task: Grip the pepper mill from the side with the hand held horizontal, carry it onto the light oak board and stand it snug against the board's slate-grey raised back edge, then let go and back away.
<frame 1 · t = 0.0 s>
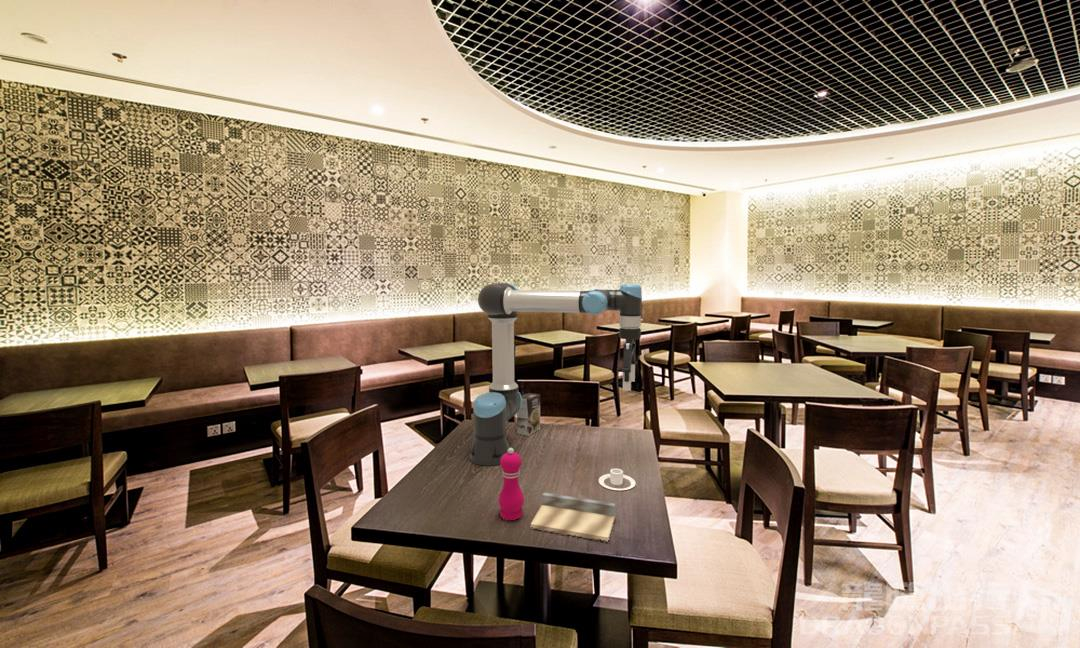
hand: (628, 385, 162), 28 cm above the table, tool pointing down, fingers open, 13 cm apart
candle holder: (616, 484, 148), on the table
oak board: (573, 523, 124), on the table
pepper mill: (511, 515, 128), on the table
coffee box: (529, 432, 195), on the table
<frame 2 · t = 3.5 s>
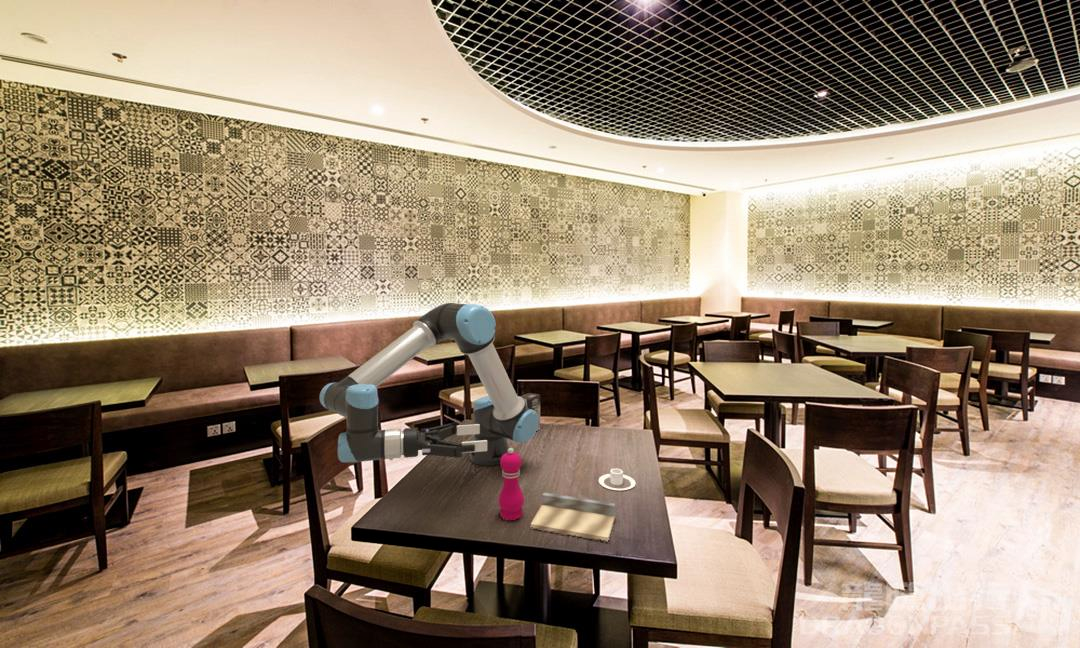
hand: (483, 436, 124), 24 cm above the table, tool horizontal, fingers open, 13 cm apart
nothing on the table moved.
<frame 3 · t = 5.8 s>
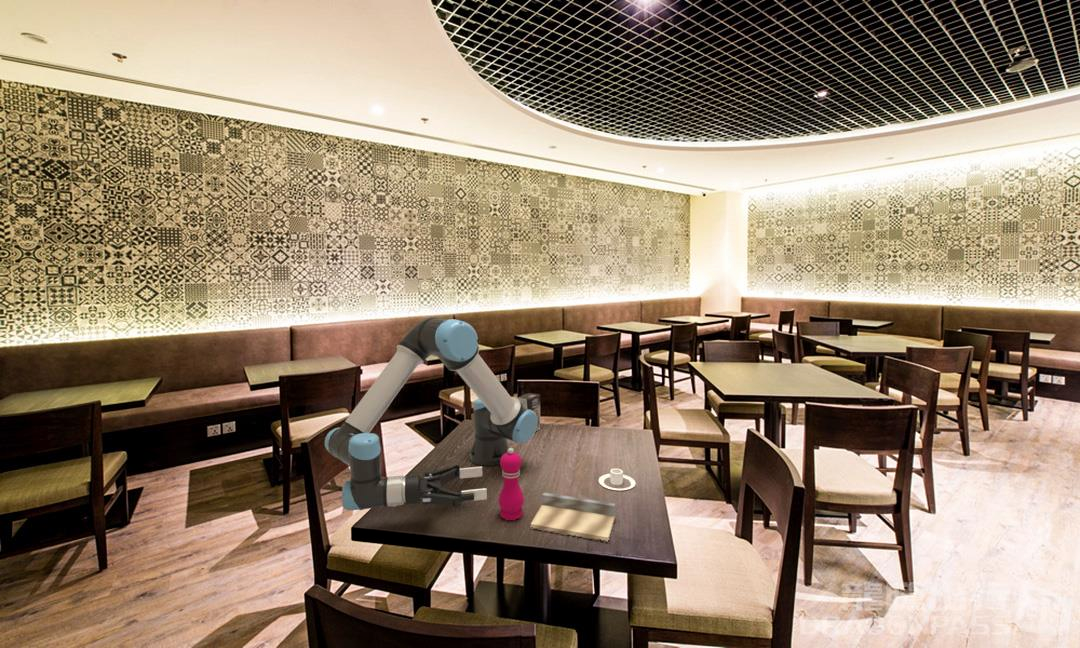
hand: (484, 481, 125), 11 cm above the table, tool horizontal, fingers open, 13 cm apart
nothing on the table moved.
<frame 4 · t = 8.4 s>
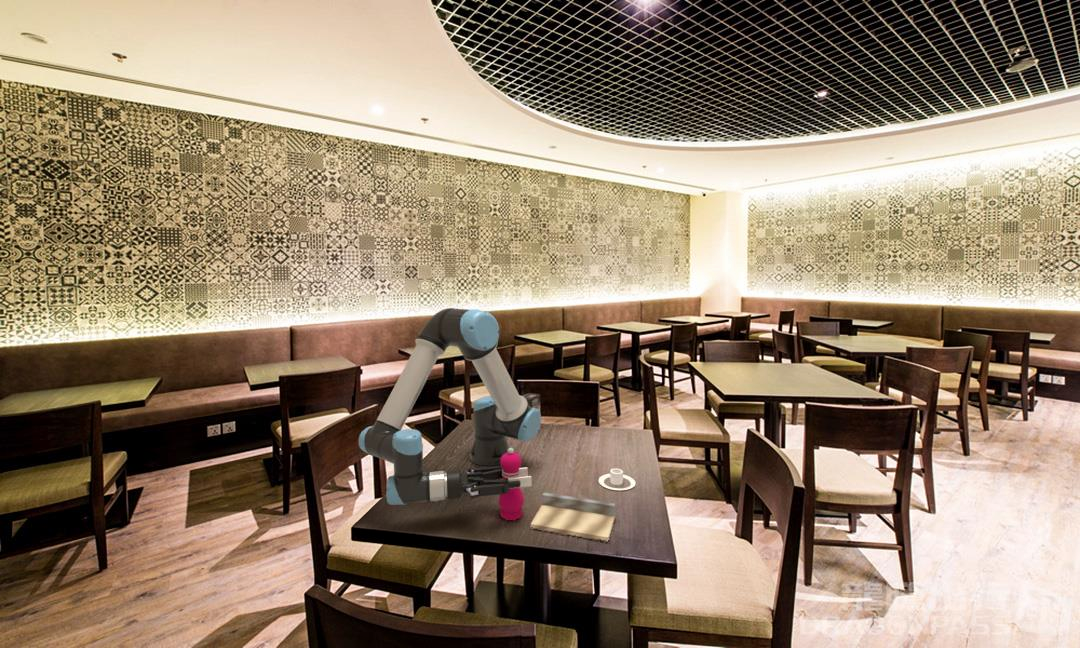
hand: (529, 476, 128), 11 cm above the table, tool horizontal, fingers closed on pepper mill, 5 cm apart
pepper mill: (511, 515, 128), on the table, touching gripper
everything else where it was.
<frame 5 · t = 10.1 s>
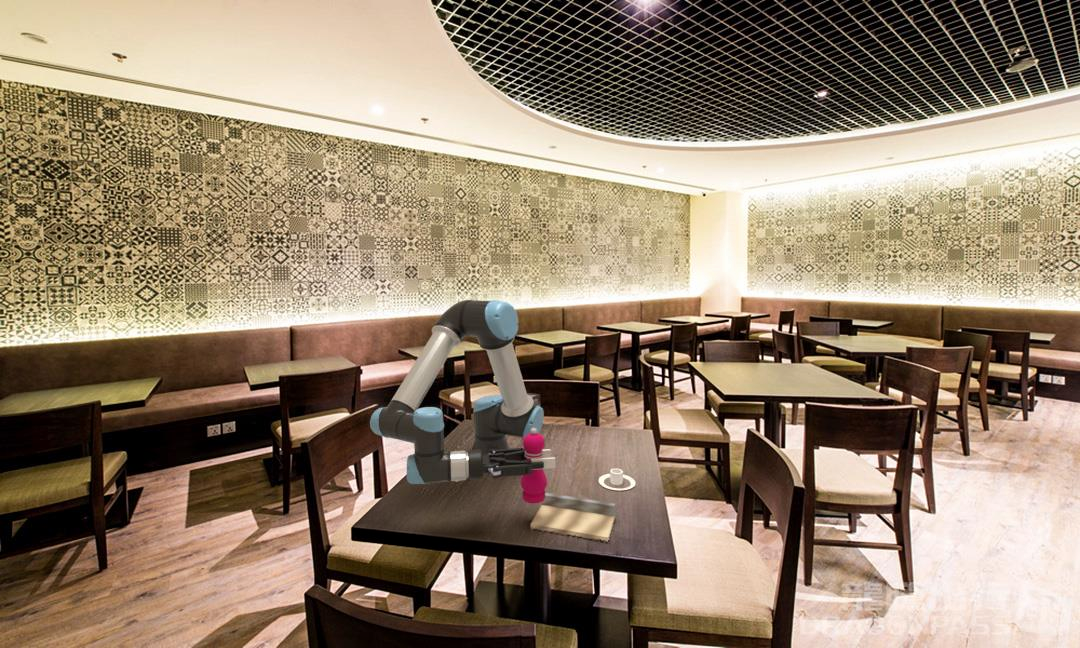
hand: (552, 458, 123), 18 cm above the table, tool horizontal, fingers closed on pepper mill, 5 cm apart
pepper mill: (533, 498, 124), point 7 cm above the table, touching gripper
everything else where it was.
when the fingers open (13 cm above the table, at t = 12.0 s): pepper mill stays where it is, resting on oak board.
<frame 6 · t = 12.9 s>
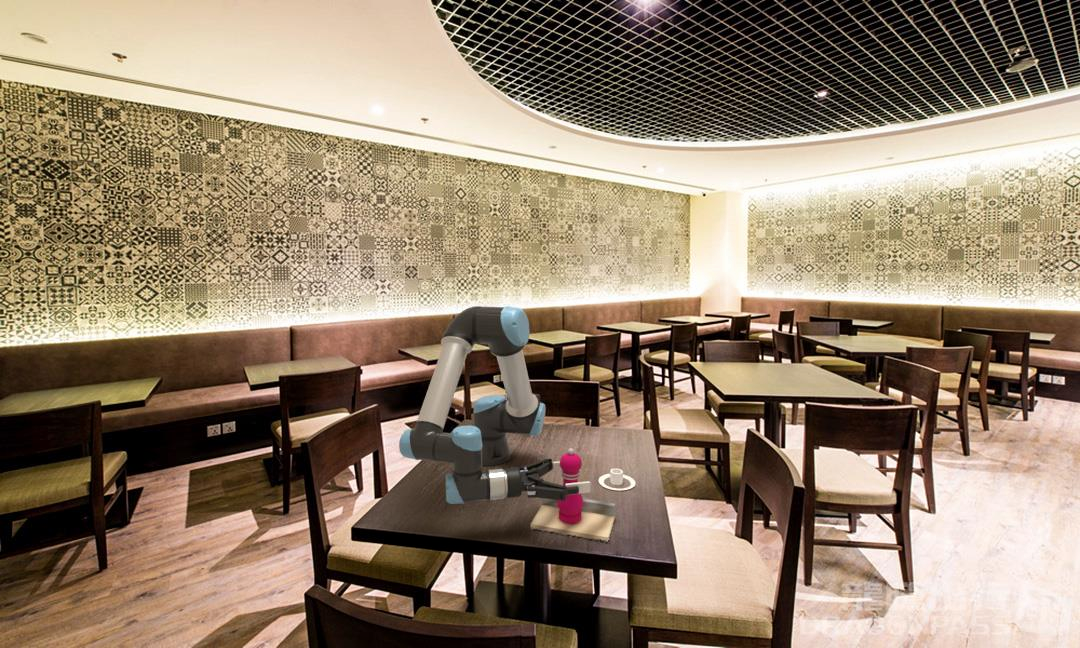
hand: (582, 475, 123), 13 cm above the table, tool horizontal, fingers open, 13 cm apart
pepper mill: (570, 518, 124), point 1 cm above the table, touching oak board
everything else where it was.
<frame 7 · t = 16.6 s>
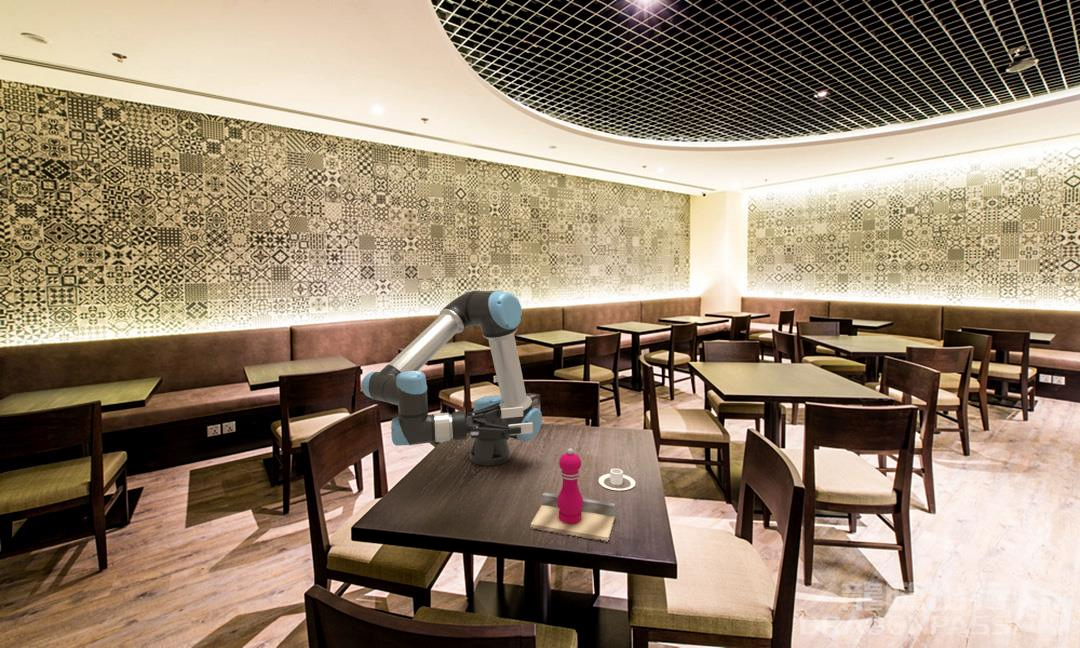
hand: (527, 419, 127), 28 cm above the table, tool horizontal, fingers open, 13 cm apart
nothing on the table moved.
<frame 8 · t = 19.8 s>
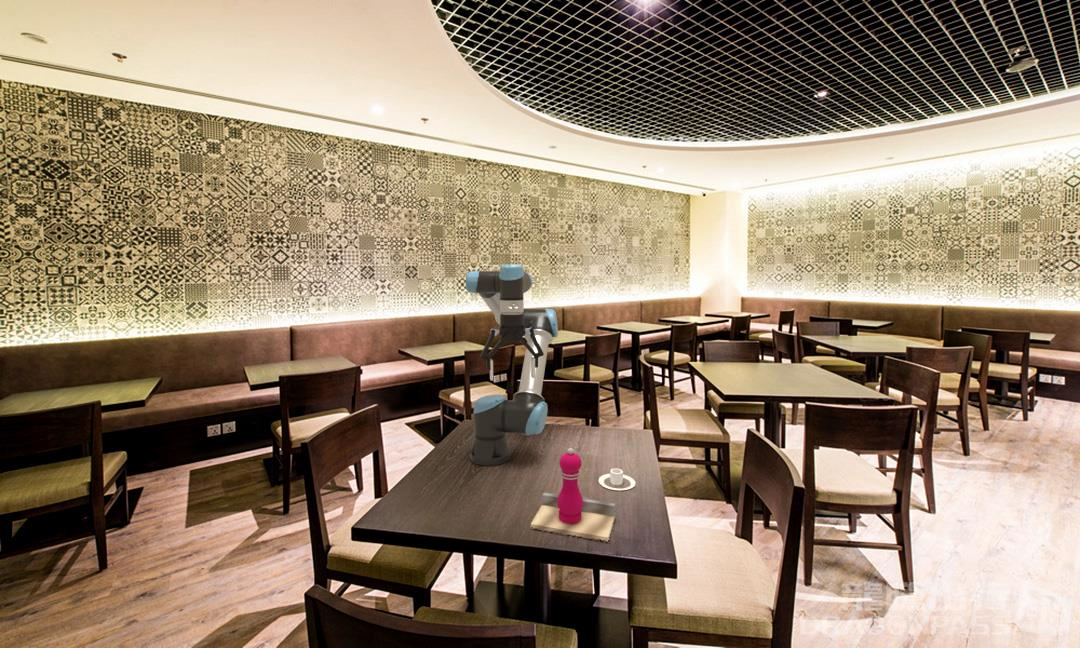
hand: (512, 378, 145), 35 cm above the table, tool pointing down, fingers open, 13 cm apart
nothing on the table moved.
at the end: pepper mill inside the target area on the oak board (1.3 cm from its centre), point 1.3 cm above the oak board's base; pepper mill tilted 0°; the gripper is holding nothing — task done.
